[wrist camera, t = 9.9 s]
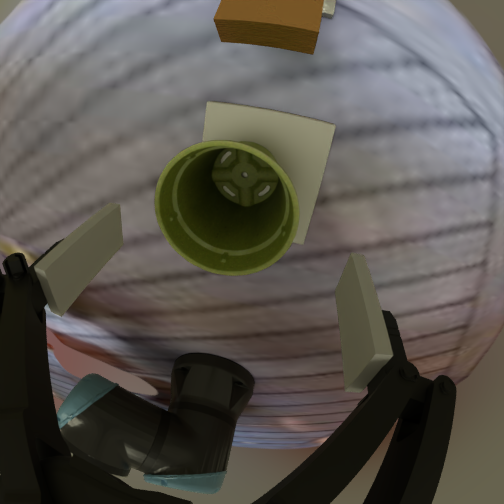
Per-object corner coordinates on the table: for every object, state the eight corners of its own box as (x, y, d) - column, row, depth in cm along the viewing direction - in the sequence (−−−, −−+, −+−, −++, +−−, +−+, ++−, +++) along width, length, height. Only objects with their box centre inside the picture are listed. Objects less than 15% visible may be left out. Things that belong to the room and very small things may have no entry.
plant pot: (321, 172, 23) (332, 214, 16) (252, 238, 28) (235, 297, 20) (239, 101, 20) (207, 107, 13) (178, 179, 25) (133, 219, 18)
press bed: (303, 237, 28) (303, 244, 27) (200, 215, 29) (195, 221, 28) (333, 123, 22) (335, 125, 20) (212, 101, 22) (207, 101, 21)
